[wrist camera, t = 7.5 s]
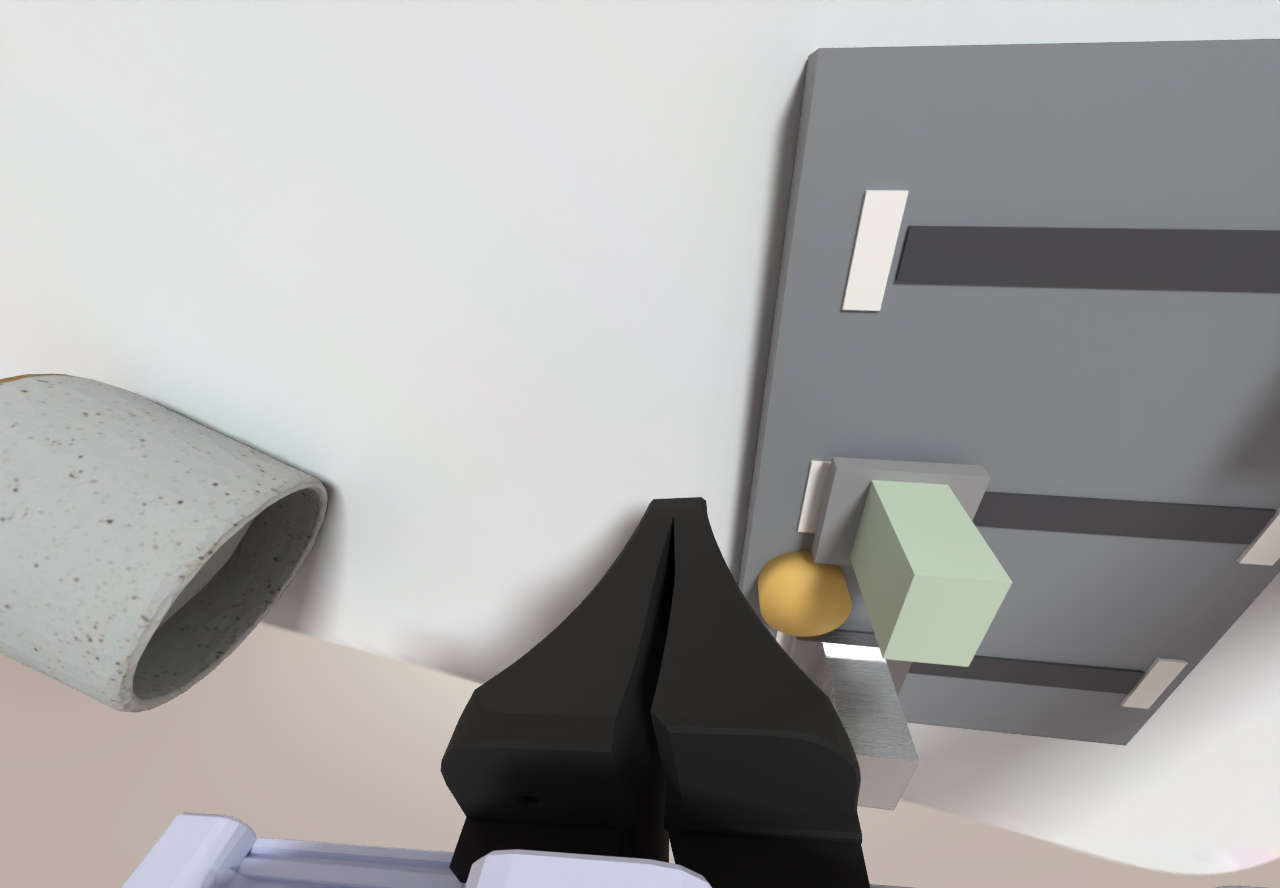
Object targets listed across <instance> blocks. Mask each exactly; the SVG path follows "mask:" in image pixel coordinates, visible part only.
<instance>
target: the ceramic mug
mask: <svg viewBox="0 0 1280 888" xmlns="http://www.w3.org/2000/svg"><path fill="white" fill-rule="evenodd" d="M327 500H328V496H327V491H326V488H325V487H324V486H323V484H322V483H321V481H320V480H318V479H316V478H315V477H313V476H311V475H309V474H306V473H304V472H302V471H300V470H297V469H295V468H293V467H291V466H288V465H286V464H284V463H282V462H280V461H278V460H276V459H274V458H271V457H269V456H267V455H265V454H263V453H261V452H259V451H257V450H255V449H253V448H250V447H248V446H246V445H244V444H242V443H240V442H238V441H235V440H233V439H231V438H229V437H227V436H224V435H222V434H220V433H218V432H215V431H213V430H211V429H209V428H207V427H204V426H202V425H200V424H198V423H196V422H194V421H192V420H189V419H187V418H185V417H183V416H181V415H179V414H177V413H175V412H173V411H171V410H169V409H167V408H165V407H163V406H160V405H158V404H156V403H154V402H152V401H150V400H148V399H146V398H144V397H141V396H139V395H137V394H134V393H132V392H129V391H127V390H125V389H122V388H118V387H115V386H112V385H109V384H105V383H102V382H99V381H95V380H92V379H87V378H81V377H76V376H70V375H64V374H26V375H20V376H15V377H10V378H5V379H0V653H2V654H4V655H6V656H8V657H10V658H12V659H14V660H16V661H18V662H20V663H22V664H24V665H26V666H28V667H30V668H32V669H34V670H37V671H38V672H40V673H42V674H44V675H47V676H49V677H51V678H53V679H55V680H57V681H59V682H61V683H63V684H65V685H67V686H69V687H71V688H73V689H76V690H77V691H79V692H82V693H83V694H85V695H87V696H89V697H92V698H93V699H95V700H97V701H99V702H101V703H103V704H105V705H107V706H109V707H111V708H113V709H115V710H118V711H124V712H140V711H145V710H150V709H153V708H155V707H157V706H160V705H162V704H164V703H166V702H168V701H170V700H172V699H174V698H175V697H177V696H179V695H180V694H182V693H184V692H185V691H187V690H188V689H189V688H191V687H192V686H193V685H194V684H196V683H197V682H199V681H200V680H202V679H203V678H204V677H205V676H207V675H208V674H209V673H210V672H212V671H213V670H214V669H215V668H216V667H217V666H218V665H219V664H220V663H221V662H222V661H223V660H224V659H225V658H226V657H228V656H229V655H230V654H231V653H232V652H233V651H234V650H235V649H236V648H237V647H238V646H239V645H240V644H241V643H242V642H243V640H244V639H245V638H246V637H247V636H248V635H249V634H250V633H251V632H252V630H253V629H254V628H255V627H256V626H257V625H258V623H259V622H260V621H261V620H262V618H263V617H264V616H265V615H266V614H267V612H268V611H269V610H270V609H271V607H272V606H273V605H274V604H275V602H276V601H277V600H278V599H279V598H280V596H281V595H282V593H283V592H284V590H285V589H286V587H287V586H288V585H289V583H290V582H291V581H292V579H293V578H294V577H295V575H296V573H297V571H298V569H299V568H300V567H301V565H302V564H303V562H304V560H305V559H306V557H307V555H308V554H309V552H310V550H311V549H312V547H313V544H314V542H315V539H316V537H317V534H318V532H319V529H320V527H321V525H322V523H323V520H324V517H325V512H326V508H327Z"/></svg>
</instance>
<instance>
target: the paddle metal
mask: <svg viewBox="0 0 1280 888" xmlns="http://www.w3.org/2000/svg"><path fill="white" fill-rule="evenodd" d="M788 655H789V656H790V657H791V659H792V660H793V661H794V662H795V663H796V664H797V665H798V666H799V668H800V669H801V670H802V671H803V672H804V673H805V674H806V675H807V676H808V677H809V678H810V679H811V680H812V681H813V682H814V683H815V684H816V685H817V686H818V687H819V688H820V689H821V690H822V691H823V692H824V693H825V694H826V695H827V696H828V697H829V699H830V701H831V703H832V704H833V706H834V708H835V710H836V712H837V714H838V716H839V718H840V720H841V722H842V724H843V726H844V728H845V730H846V732H847V734H848V736H849V739H850V741H851V743H852V746H853V749H854V751H855V754H856V757H857V760H858V763H859V767H860V774H861V783H860V790H859V797H858V804H857V806H863V807H872V808H880V809H887V810H894V809H895V807H896V805H897V803H898V801H899V799H900V797H901V795H902V794H903V792H904V790H905V788H906V786H907V784H908V782H909V780H910V778H911V776H912V774H913V772H914V770H915V769H916V767H917V765H918V763H919V760H918V757H917V754H916V751H915V748H914V745H913V742H912V739H911V736H910V733H909V729H908V726H907V723H906V720H905V717H904V714H903V711H902V708H901V705H900V702H899V699H898V694H899V692H900V690H901V687H902V685H903V683H904V680H905V678H906V676H907V673H908V671H909V669H910V666H911V664H912V662H911V661H900V660H890V659H883V658H882V655H881V652H880V649H879V646H878V642H877V639H876V636H875V634H867V633H856V632H845V631H834V630H832V631H830V632H828V633H825V634H822V635H817V636H810V637H800V636H792V639H791V643H790V648H789V652H788Z"/></svg>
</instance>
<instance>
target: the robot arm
mask: <svg viewBox="0 0 1280 888" xmlns="http://www.w3.org/2000/svg"><path fill="white" fill-rule="evenodd" d="M441 772H442V775H443V777H444V780H445V782H446V785H447V786H448V788H449V789H450V791H451V793H452V794H453V796H454V797H455V799H456V800H457V802H458V804H459V805H460V807H461V809H462V810H463V812H464V813H465V815H466V816H467V817H466V820H465V823H464V826H463V829H462V832H461V835H460V837H459V841H458V843H457V846H456V849H455V852H444V851H430V850H417V849H405V848H391V847H379V846H366V845H353V844H339V843H327V842H314V841H301V840H288V839H276V838H262V837H256V833H255V832H254V831H253V830H252V828H251V827H249V826H248V825H247V824H246V823H244V822H243V821H241V820H239V819H237V818H234V817H231V816H226V815H215V814H202V813H187V812H184V813H181V814H178V815H177V817H176V818H175V819H174V821H173V822H172V823H171V824H170V826H169V827H168V828H167V830H166V831H165V832H164V833H163V835H162V836H161V838H160V839H159V840H158V841H157V843H156V844H155V845H154V846H153V848H152V849H151V850H150V852H149V853H148V854H147V855H146V857H145V858H144V859H143V861H142V862H141V863H140V865H139V866H138V867H137V868H136V870H135V871H134V872H133V874H132V875H131V876H130V877H129V879H128V880H127V881H126V883H125V884H124V885H123V886H122V888H911V887H898V886H884V885H872V884H869V881H868V875H867V870H866V866H865V861H864V856H863V852H862V847H861V843H862V833H861V829H860V823H859V819H858V814H857V804H858V797H859V790H860V783H861V774H860V767H859V763H858V760H857V757H856V754H855V751H854V749H853V746H852V743H851V741H850V739H849V736H848V734H847V732H846V730H845V728H844V726H843V724H842V722H841V720H840V718H839V716H838V714H837V712H836V710H835V708H834V706H833V704H832V703H831V701H830V699H829V697H828V696H827V695H826V694H825V693H824V692H823V691H822V690H821V689H820V688H819V687H818V686H817V685H816V684H815V683H814V682H813V681H812V680H811V679H810V678H809V677H808V676H807V675H806V674H805V673H804V672H803V671H802V670H801V669H800V668H799V666H798V665H797V664H796V663H795V662H794V661H793V660H792V659H791V657H790V656H789V655H788V654H787V653H786V652H785V651H784V649H783V648H782V647H781V646H780V644H779V643H778V642H777V641H776V639H775V638H774V637H773V636H772V634H771V633H770V632H769V631H768V629H767V628H766V627H765V626H764V624H763V623H762V622H761V620H760V619H759V617H758V616H757V614H756V613H755V612H754V610H753V609H752V607H751V606H750V604H749V603H748V601H747V600H746V598H745V596H744V595H743V593H742V592H741V590H740V588H739V587H738V585H737V583H736V581H735V580H734V578H733V576H732V574H731V572H730V570H729V568H728V566H727V564H726V562H725V560H724V558H723V556H722V554H721V552H720V549H719V547H718V545H717V542H716V540H715V537H714V535H713V532H712V529H711V526H710V523H709V519H708V515H707V506H706V500H704V499H703V498H702V497H695V498H673V499H654V500H653V501H652V502H651V503H650V504H649V506H648V508H647V510H646V512H645V514H644V516H643V518H642V519H641V521H640V523H639V525H638V526H637V528H636V530H635V531H634V533H633V535H632V536H631V538H630V539H629V541H628V543H627V544H626V546H625V547H624V549H623V550H622V552H621V553H620V555H619V556H618V558H617V559H616V560H615V562H614V563H613V564H612V566H611V567H610V569H609V570H608V571H607V573H606V574H605V575H604V577H603V578H602V579H601V580H600V582H599V583H598V584H597V585H596V587H595V588H594V589H593V590H592V591H591V593H590V594H589V595H588V596H587V597H586V598H585V599H584V600H583V602H582V603H581V604H580V605H579V606H578V607H577V608H576V609H575V610H574V611H573V612H572V613H571V614H570V615H569V616H568V617H567V618H566V619H565V620H564V621H563V622H562V623H561V624H560V625H559V626H558V627H557V628H556V629H555V630H554V631H553V632H551V633H550V634H549V635H548V636H547V637H546V638H545V639H543V640H542V641H541V642H540V643H539V644H537V645H536V646H535V647H534V648H533V649H531V650H530V651H529V652H528V653H526V654H525V655H524V656H523V657H521V658H520V659H519V660H517V661H516V662H515V663H513V664H512V665H511V666H509V667H508V668H506V669H505V670H503V671H502V672H500V673H499V674H498V675H496V676H495V677H493V678H492V679H490V680H489V681H487V682H486V683H485V684H483V685H481V686H480V687H478V688H477V689H475V691H474V692H473V694H472V696H471V698H470V700H469V702H468V704H467V705H466V707H465V709H464V711H463V713H462V715H461V717H460V719H459V721H458V723H457V726H456V728H455V731H454V733H453V735H452V738H451V740H450V742H449V745H448V747H447V749H446V752H445V754H444V756H443V759H442V763H441ZM669 839H670V843H671V847H672V852H673V856H674V860H675V864H672V863H669ZM1217 888H1263V887H1250V886H1222V887H1217Z"/></svg>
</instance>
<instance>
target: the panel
mask: <svg viewBox="0 0 1280 888" xmlns="http://www.w3.org/2000/svg"><path fill="white" fill-rule="evenodd" d="M832 457H842V458H860V459H878V460H895V461H913V462H930V463H948V464H966V465H982V466H983V467H984V469H985V470H986V471H987V472H988V474H989V475H990V476H991V479H990V481H989V483H988V486H987V488H986V490H985V493H984V495H983V498H982V500H981V502H980V505H979V507H978V509H977V512H976V514H975V516H974V519H973V521H972V522H973V523H974V525H975V526H976V528H977V529H978V531H979V532H980V534H981V535H982V537H983V538H984V540H985V541H986V543H987V544H988V546H989V547H990V549H991V550H992V552H993V553H994V555H995V556H996V558H997V560H998V561H999V563H1000V564H1001V566H1002V567H1003V569H1004V570H1005V572H1006V573H1007V575H1008V576H1009V578H1010V579H1011V581H1012V584H1011V586H1010V588H1009V590H1008V592H1007V594H1006V596H1005V598H1004V599H1003V601H1002V603H1001V605H1000V607H999V609H998V611H997V613H996V615H995V617H994V619H993V621H992V623H991V624H990V626H989V628H988V630H987V632H986V634H985V636H984V638H983V640H982V642H981V644H980V646H979V647H978V649H977V651H976V653H975V655H974V657H973V659H972V661H971V663H970V665H969V667H964V666H954V665H943V664H932V663H922V662H912V664H911V666H910V669H909V671H908V673H907V676H906V678H905V680H904V683H903V685H902V687H901V690H900V692H899V694H898V699H899V702H900V705H901V708H902V711H903V714H904V717H905V720H906V722H908V723H918V724H927V725H936V726H946V727H955V728H965V729H974V730H984V731H993V732H1003V733H1012V734H1022V735H1031V736H1041V737H1050V738H1060V739H1069V740H1079V741H1088V742H1098V743H1107V744H1117V745H1126V744H1127V743H1128V742H1129V741H1130V740H1131V739H1132V738H1133V736H1134V735H1135V734H1136V733H1137V732H1138V731H1139V730H1140V729H1141V727H1142V726H1143V725H1144V724H1145V723H1146V722H1147V721H1148V720H1149V718H1150V717H1151V716H1152V715H1153V714H1154V713H1155V712H1156V711H1157V709H1158V708H1159V707H1160V706H1161V705H1162V704H1163V703H1164V701H1165V700H1166V699H1167V698H1168V697H1169V696H1170V695H1171V694H1172V692H1173V691H1174V690H1175V689H1176V688H1177V687H1178V686H1179V685H1180V683H1181V682H1182V681H1183V680H1184V679H1185V678H1186V677H1187V675H1188V674H1189V673H1190V672H1191V671H1192V670H1193V669H1194V668H1195V666H1196V665H1197V664H1198V663H1199V662H1200V661H1201V660H1202V659H1203V657H1204V656H1205V655H1206V654H1207V653H1208V652H1209V651H1210V650H1211V648H1212V647H1213V646H1214V645H1215V644H1216V643H1217V642H1218V640H1219V639H1220V638H1221V637H1222V636H1223V635H1224V634H1225V633H1226V631H1227V630H1228V629H1229V628H1230V627H1231V626H1232V625H1233V624H1234V622H1235V621H1236V620H1237V619H1238V618H1239V617H1240V616H1241V614H1242V613H1243V612H1244V611H1245V610H1246V609H1247V608H1248V607H1249V605H1250V604H1251V603H1252V602H1253V601H1254V600H1255V599H1256V598H1257V596H1258V595H1259V594H1260V593H1261V592H1262V591H1263V590H1264V588H1265V587H1266V586H1267V585H1268V584H1269V583H1270V582H1271V581H1272V579H1273V578H1274V577H1275V576H1276V575H1277V574H1278V573H1279V572H1280V39H1253V40H1204V41H1156V42H1107V43H1058V44H1009V45H960V46H912V47H863V48H819V49H818V50H816V51H815V52H813V53H812V54H811V55H809V56H808V63H807V71H806V78H805V86H804V94H803V101H802V109H801V116H800V124H799V131H798V139H797V146H796V154H795V161H794V169H793V176H792V184H791V192H790V199H789V207H788V214H787V222H786V229H785V237H784V244H783V252H782V259H781V267H780V274H779V282H778V290H777V297H776V305H775V312H774V320H773V327H772V335H771V342H770V350H769V357H768V365H767V372H766V380H765V387H764V395H763V403H762V410H761V418H760V425H759V433H758V440H757V448H756V455H755V463H754V470H753V478H752V485H751V493H750V501H749V508H748V516H747V523H746V531H745V538H744V546H743V553H742V561H741V568H740V576H739V583H738V587H739V588H740V590H741V592H742V593H743V595H744V596H745V598H746V600H747V601H748V603H749V604H750V606H751V607H752V609H753V610H754V612H755V613H756V614H757V616H758V617H759V619H760V620H761V622H762V623H763V624H764V626H765V627H766V628H767V629H768V631H769V632H770V633H771V634H772V636H773V637H774V638H775V639H776V641H777V642H778V643H779V644H780V646H781V647H782V648H783V649H784V651H785V652H786V653H787V654H788V652H789V648H790V643H791V639H792V636H800V637H810V636H817V635H822V634H825V633H828V632H830V631H832V630H834V631H845V632H856V633H867V634H875V633H874V630H873V627H872V624H871V621H870V618H869V615H868V612H867V608H866V605H865V602H864V599H863V596H862V593H861V590H860V587H859V584H858V581H857V578H856V574H855V571H854V568H853V566H850V565H837V564H824V563H814V559H813V555H812V546H813V541H814V537H815V532H816V528H817V524H818V519H819V515H820V510H821V506H822V501H823V497H824V493H825V488H826V484H827V479H828V475H829V470H830V466H831V462H832Z"/></svg>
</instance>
